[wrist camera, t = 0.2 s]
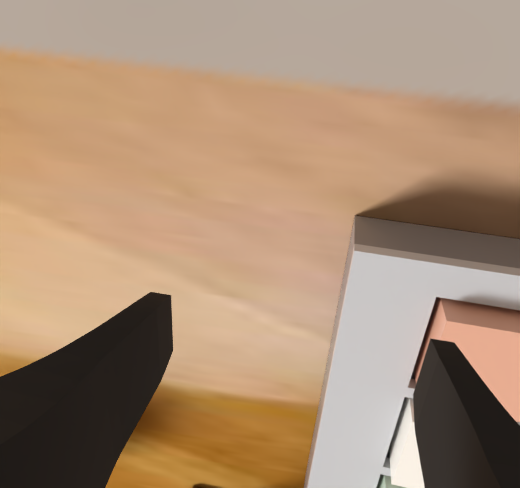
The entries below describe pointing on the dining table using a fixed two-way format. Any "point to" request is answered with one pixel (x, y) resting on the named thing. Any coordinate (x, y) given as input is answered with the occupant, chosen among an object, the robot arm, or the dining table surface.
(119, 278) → the dining table surface
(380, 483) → the sage key
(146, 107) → the dining table surface
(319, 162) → the dining table surface
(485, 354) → the terracotta key
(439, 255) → the keypad base
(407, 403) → the cream key
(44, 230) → the dining table surface
